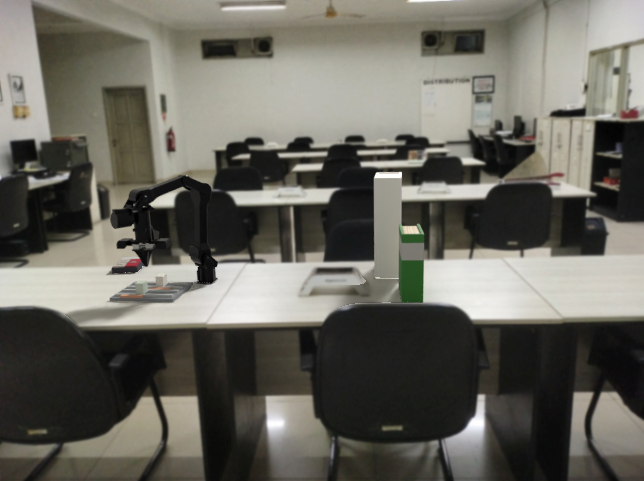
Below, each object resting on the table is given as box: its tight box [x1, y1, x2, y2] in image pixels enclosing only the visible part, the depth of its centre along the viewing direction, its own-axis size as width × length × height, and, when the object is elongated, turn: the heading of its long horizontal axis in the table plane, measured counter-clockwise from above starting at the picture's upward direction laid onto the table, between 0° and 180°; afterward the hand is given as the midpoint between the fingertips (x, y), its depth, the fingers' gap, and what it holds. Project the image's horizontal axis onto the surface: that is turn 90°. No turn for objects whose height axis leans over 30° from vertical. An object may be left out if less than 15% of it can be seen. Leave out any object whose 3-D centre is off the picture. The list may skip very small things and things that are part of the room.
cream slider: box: [154, 273, 169, 286], centre depth 202 cm, size 3×4×4 cm
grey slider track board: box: [109, 280, 194, 303], centre depth 199 cm, size 24×20×2 cm
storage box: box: [373, 171, 403, 278], centre depth 214 cm, size 21×10×40 cm, turn 172°
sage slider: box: [135, 280, 148, 294], centre depth 194 cm, size 3×4×4 cm
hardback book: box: [398, 223, 425, 303], centre depth 188 cm, size 18×7×24 cm, turn 175°
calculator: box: [111, 256, 145, 274], centre depth 234 cm, size 11×4×15 cm
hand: (146, 266), depth 192 cm, fingers closed
